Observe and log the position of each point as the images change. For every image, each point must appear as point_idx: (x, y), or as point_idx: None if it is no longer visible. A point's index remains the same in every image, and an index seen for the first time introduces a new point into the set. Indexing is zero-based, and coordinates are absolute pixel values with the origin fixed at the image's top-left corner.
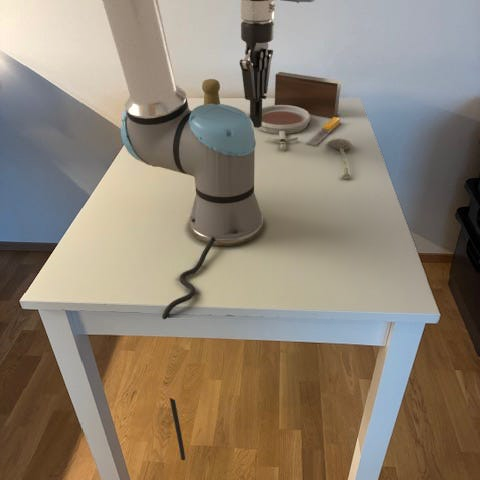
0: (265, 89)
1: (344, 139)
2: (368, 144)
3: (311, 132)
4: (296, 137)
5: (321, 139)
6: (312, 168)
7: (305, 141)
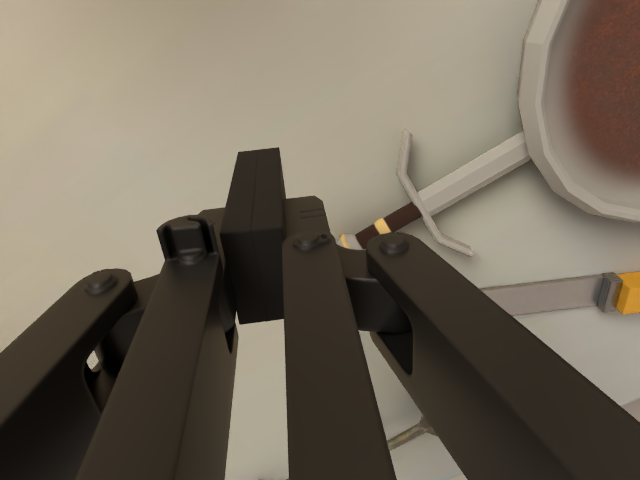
0: (381, 352)
1: None
2: None
3: (592, 239)
4: (464, 253)
5: (519, 313)
6: (266, 392)
7: (483, 266)
